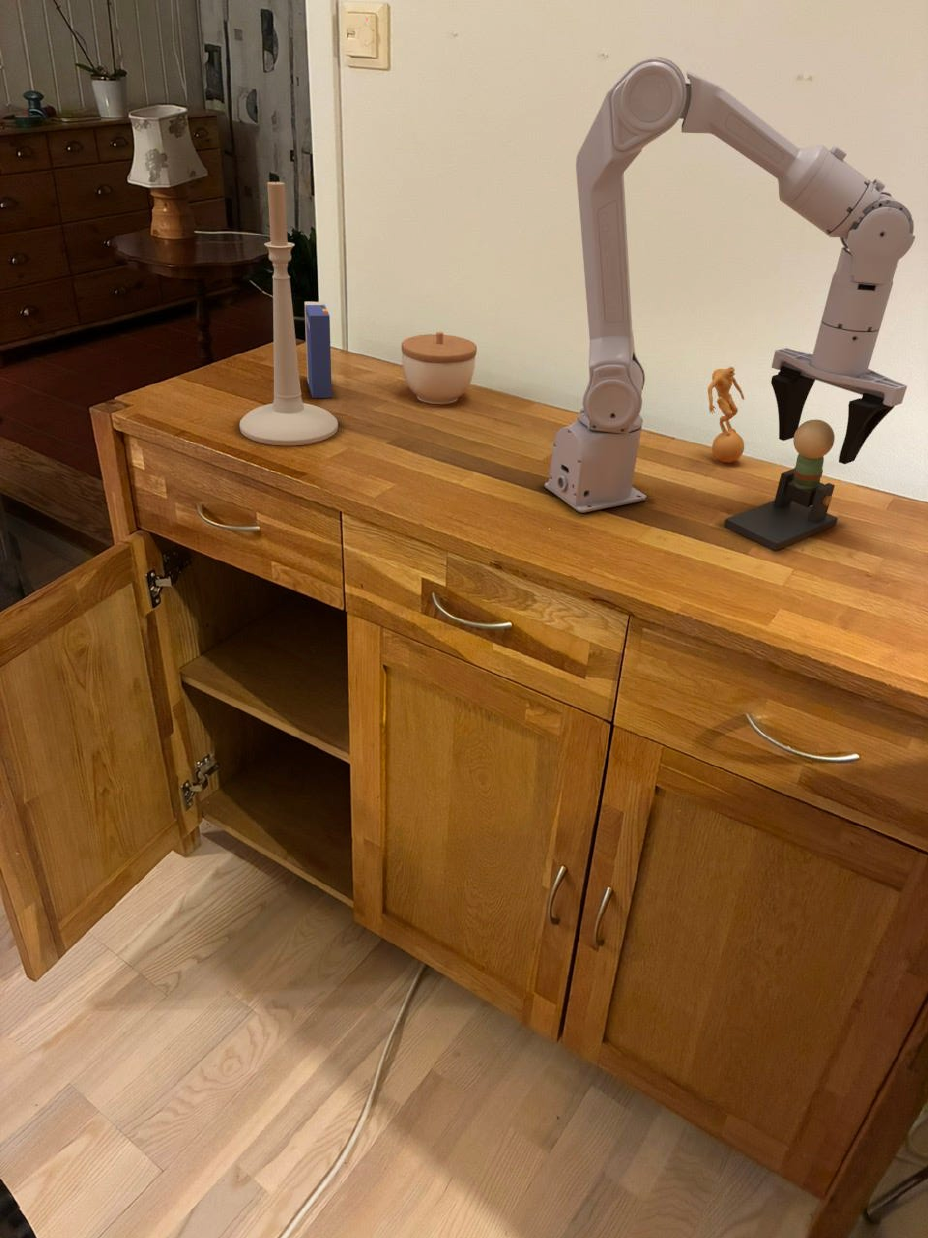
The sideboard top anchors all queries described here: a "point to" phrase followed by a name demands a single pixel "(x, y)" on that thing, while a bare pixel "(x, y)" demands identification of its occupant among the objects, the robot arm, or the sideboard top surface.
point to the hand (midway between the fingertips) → (815, 449)
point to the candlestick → (285, 354)
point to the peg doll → (809, 460)
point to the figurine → (728, 442)
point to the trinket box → (438, 366)
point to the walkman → (318, 349)
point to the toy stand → (785, 517)
